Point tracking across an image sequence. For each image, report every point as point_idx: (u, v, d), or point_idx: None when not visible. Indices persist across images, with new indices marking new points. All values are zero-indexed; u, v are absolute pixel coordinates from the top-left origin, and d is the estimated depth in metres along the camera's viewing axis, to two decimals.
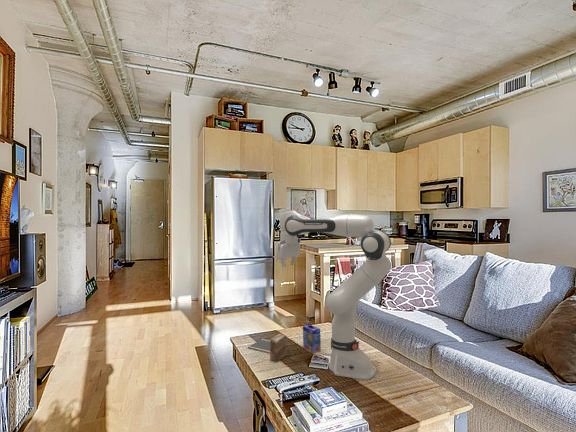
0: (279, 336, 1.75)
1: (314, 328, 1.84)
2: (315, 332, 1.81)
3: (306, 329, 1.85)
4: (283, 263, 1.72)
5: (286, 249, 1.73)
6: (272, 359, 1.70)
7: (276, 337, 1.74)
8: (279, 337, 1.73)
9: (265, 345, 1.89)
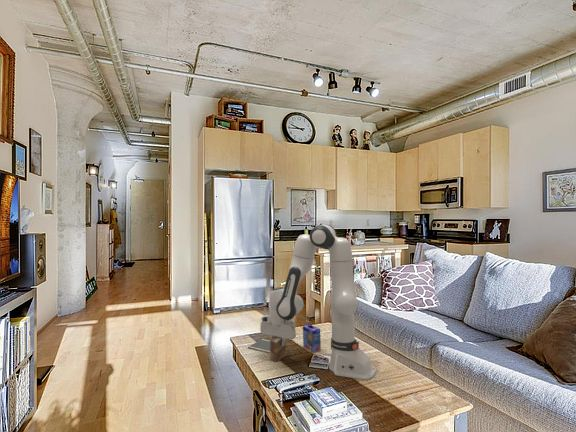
0: None
1: (314, 328, 1.84)
2: (315, 332, 1.81)
3: (306, 329, 1.85)
4: (284, 341, 1.72)
5: None
6: (272, 359, 1.70)
7: (276, 337, 1.74)
8: (279, 337, 1.73)
9: (265, 345, 1.89)
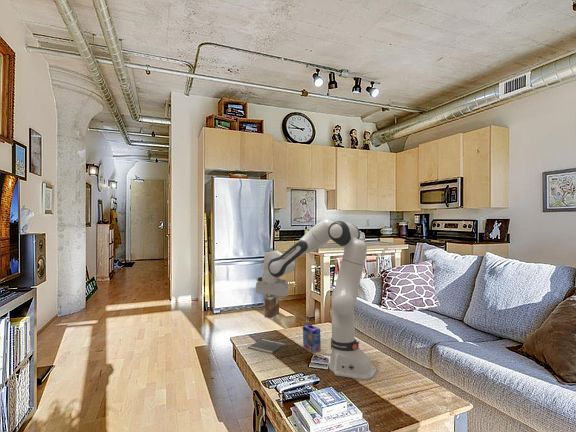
0: (273, 295, 1.88)
1: (314, 328, 1.84)
2: (315, 332, 1.81)
3: (306, 329, 1.85)
4: (277, 299, 1.86)
5: None
6: (266, 315, 1.84)
7: (271, 295, 1.87)
8: (273, 296, 1.87)
9: (265, 345, 1.89)
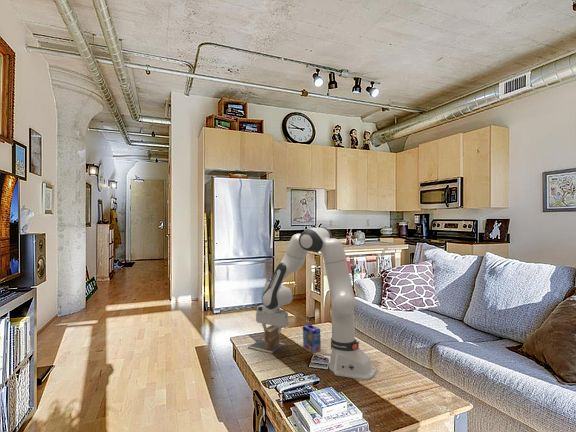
0: (273, 326, 1.88)
1: (314, 328, 1.84)
2: (315, 332, 1.81)
3: (306, 329, 1.85)
4: (280, 330, 1.85)
5: None
6: (266, 347, 1.83)
7: (271, 327, 1.87)
8: (273, 327, 1.87)
9: None
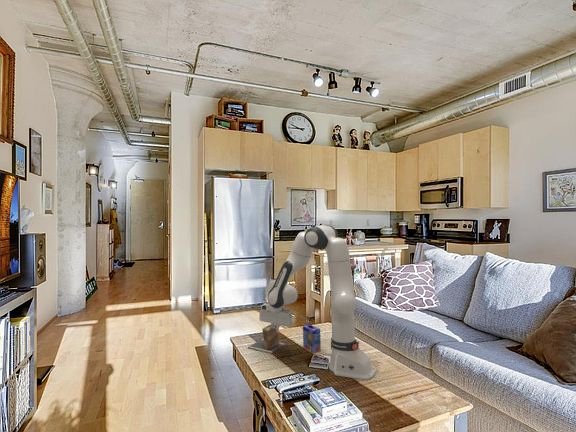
0: None
1: (314, 328, 1.84)
2: (315, 332, 1.81)
3: (306, 329, 1.85)
4: (278, 328, 1.85)
5: None
6: (266, 347, 1.83)
7: (268, 326, 1.88)
8: (271, 326, 1.87)
9: None
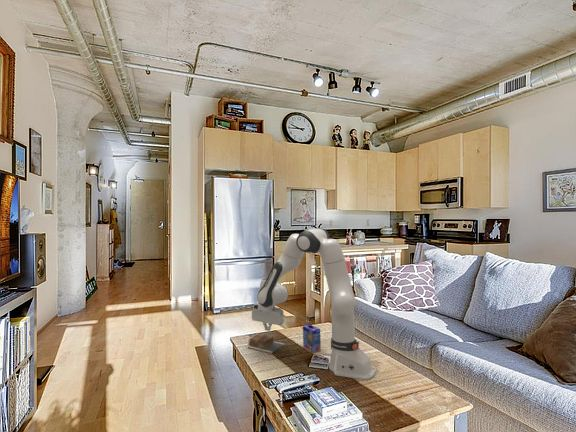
0: None
1: (314, 328, 1.84)
2: (315, 332, 1.81)
3: (306, 329, 1.85)
4: (270, 327, 1.88)
5: None
6: (263, 346, 1.85)
7: None
8: None
9: None
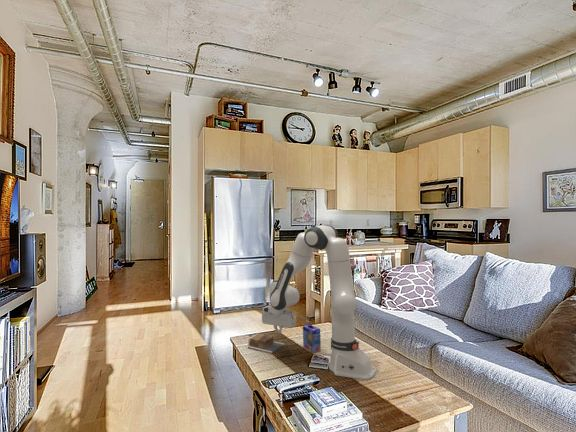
0: None
1: (314, 328, 1.84)
2: (315, 332, 1.81)
3: (306, 329, 1.85)
4: None
5: None
6: (263, 346, 1.85)
7: None
8: None
9: None
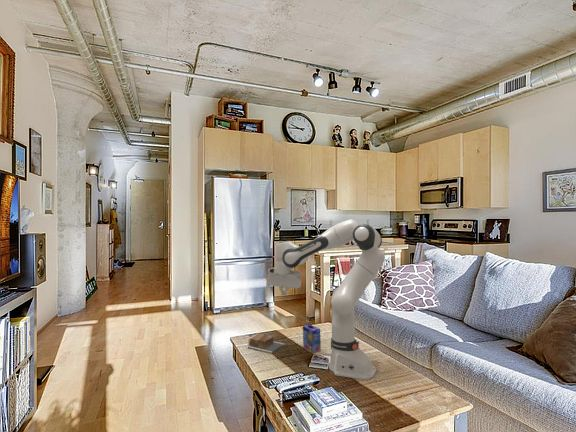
0: None
1: (314, 328, 1.84)
2: (315, 332, 1.81)
3: (306, 329, 1.85)
4: (286, 291, 1.83)
5: None
6: (263, 346, 1.85)
7: None
8: None
9: None
